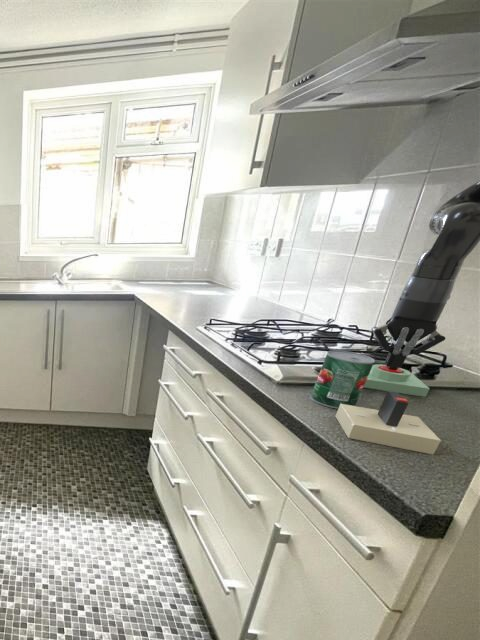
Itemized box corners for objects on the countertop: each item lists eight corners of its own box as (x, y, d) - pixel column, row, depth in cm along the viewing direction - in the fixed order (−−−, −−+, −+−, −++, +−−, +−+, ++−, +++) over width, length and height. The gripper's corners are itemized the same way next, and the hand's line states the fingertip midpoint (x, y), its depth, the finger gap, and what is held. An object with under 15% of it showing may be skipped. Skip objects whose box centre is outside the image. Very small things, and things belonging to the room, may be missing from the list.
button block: (408, 382, 104) (415, 367, 103) (425, 397, 96) (433, 381, 94) (347, 373, 109) (353, 359, 108) (359, 386, 101) (365, 371, 100)
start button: (396, 373, 102) (399, 367, 102) (402, 379, 99) (405, 372, 99) (375, 371, 104) (378, 364, 103) (380, 376, 101) (383, 369, 100)
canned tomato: (302, 393, 98) (318, 349, 93) (339, 395, 96) (358, 351, 92) (323, 408, 90) (342, 361, 86) (364, 411, 89) (385, 363, 85)
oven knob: (377, 413, 82) (388, 389, 80) (387, 415, 81) (399, 391, 79) (385, 424, 78) (397, 399, 76) (397, 426, 77) (409, 401, 75)
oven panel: (411, 430, 82) (418, 415, 81) (433, 455, 74) (441, 439, 73) (335, 416, 87) (340, 402, 86) (348, 438, 79) (354, 423, 78)
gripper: (456, 297, 94) (421, 368, 101) (380, 291, 100) (352, 358, 107) (473, 304, 88) (434, 379, 95) (391, 297, 94) (360, 368, 101)
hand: (391, 368), depth 101 cm, fingers closed
